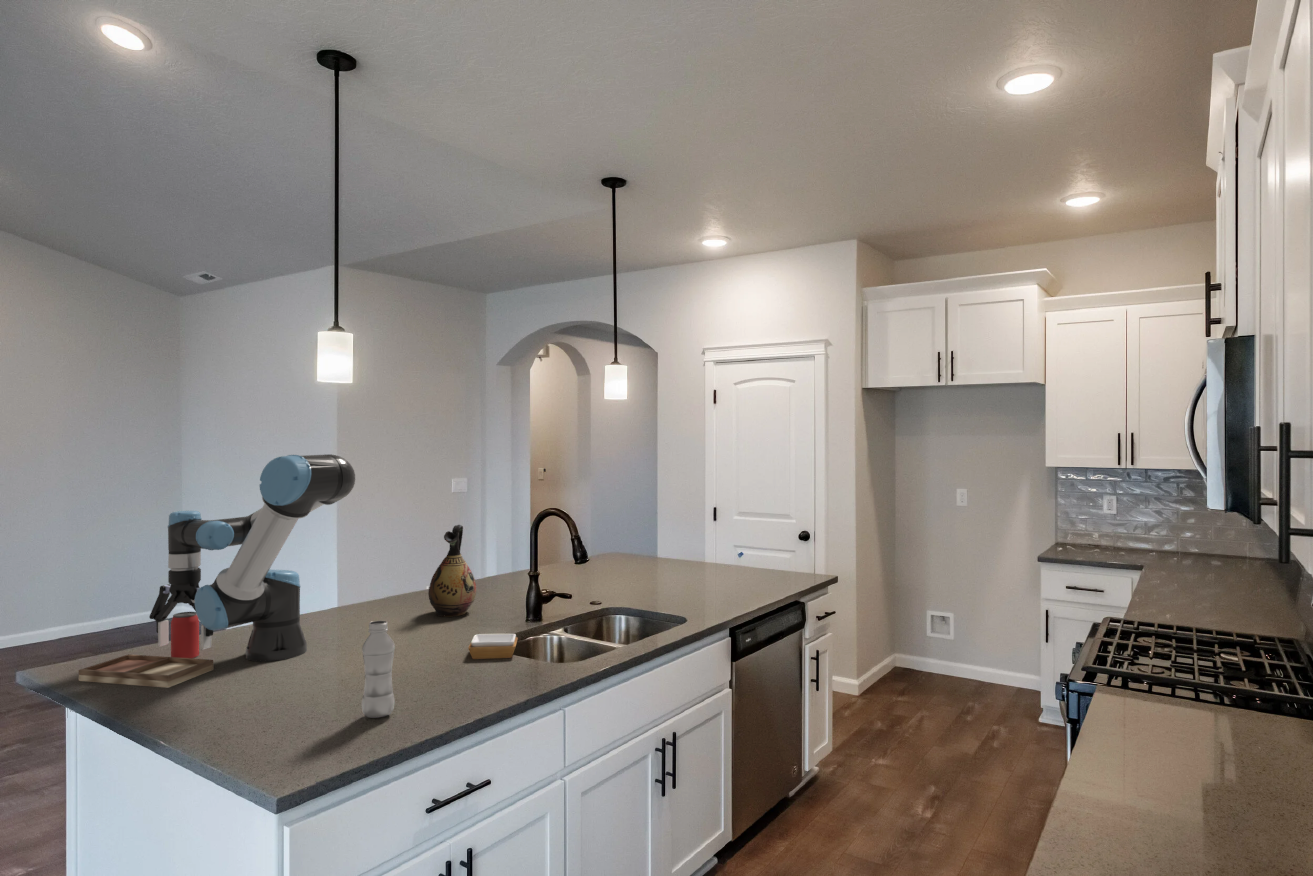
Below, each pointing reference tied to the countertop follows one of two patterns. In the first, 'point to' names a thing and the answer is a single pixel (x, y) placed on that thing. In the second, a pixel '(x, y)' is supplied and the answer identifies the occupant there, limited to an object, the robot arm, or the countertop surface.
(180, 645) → the beer can
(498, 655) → the soap dish
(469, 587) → the ceramic jug
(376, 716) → the plastic bottle
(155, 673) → the caddy tray
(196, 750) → the countertop surface
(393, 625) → the countertop surface
